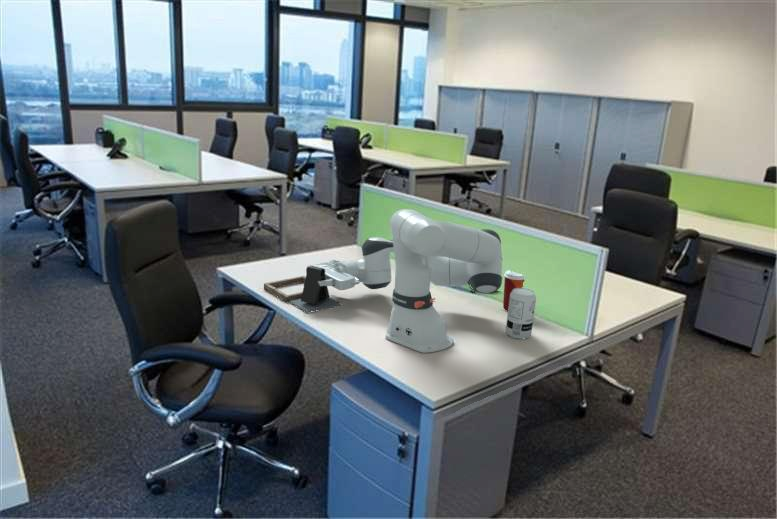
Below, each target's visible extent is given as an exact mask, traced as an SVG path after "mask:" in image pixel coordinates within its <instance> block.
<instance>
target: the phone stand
mask: <svg viewBox="0 0 777 519" xmlns="http://www.w3.org/2000/svg"><path fill="white" fill-rule="evenodd" d="M305 271H306V275H305V277H306V279H305V283H304V282H303V289H302V292H303V293H302V297H301V301H303V302H306V303H310V304H314V305H316V304H318V303H320V302H322V301H324V300H326V299H328V298H330V292H329V289H328V288H329V287H328V286H319V283H318V281H320V280H326V279H325V269H323V268H319V267H314V266H313V265H307V267H306V270H305Z"/></svg>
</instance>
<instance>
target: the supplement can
mask: <svg viewBox="0 0 777 519" xmlns="http://www.w3.org/2000/svg"><path fill="white" fill-rule="evenodd" d="M536 300H537V296H536V294H535V291H533V290H531V289H529V288H524V287H523V288H515V289H513V291H512V292H511V293H510V299H509V308H508V311H507V316H506V325H505V333H506V334H507V336H508V335H509V337H510V336H511V337H510V338H512V337H514V338H513V339H515V338H520V339H519V340H524V339H523V338H527V339H529V338H530V337H531V336H532V331H533V324H534V315H535V309H536V303H537V302H536Z"/></svg>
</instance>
